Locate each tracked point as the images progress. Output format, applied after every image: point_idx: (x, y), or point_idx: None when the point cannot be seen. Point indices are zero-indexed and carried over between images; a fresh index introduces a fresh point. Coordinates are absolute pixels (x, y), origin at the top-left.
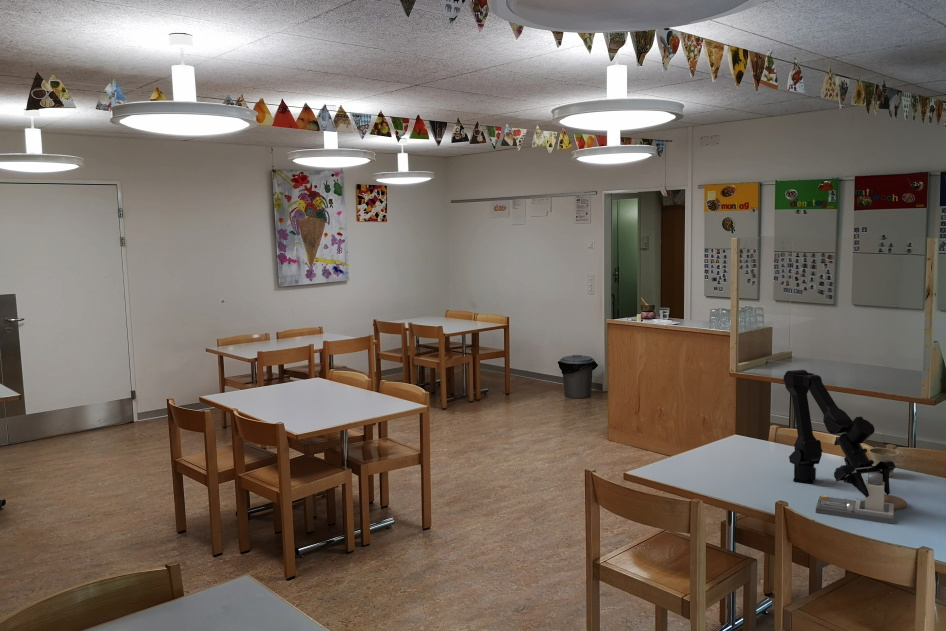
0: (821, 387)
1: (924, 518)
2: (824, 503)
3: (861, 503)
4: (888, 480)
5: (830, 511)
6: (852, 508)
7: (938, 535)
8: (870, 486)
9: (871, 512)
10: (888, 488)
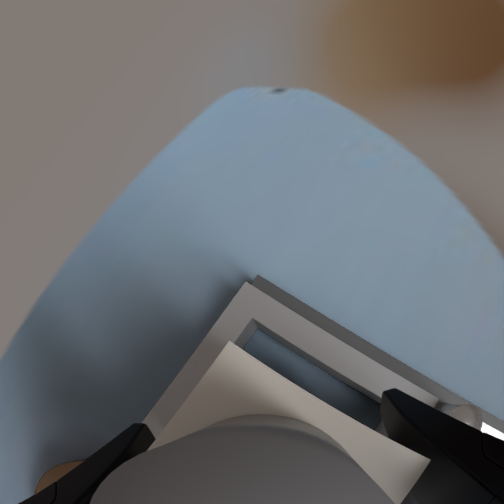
0: None
1: (67, 328)
2: None
3: None
4: (51, 489)
5: None
6: (446, 408)
7: (156, 156)
8: (376, 433)
9: (355, 351)
10: (116, 445)
